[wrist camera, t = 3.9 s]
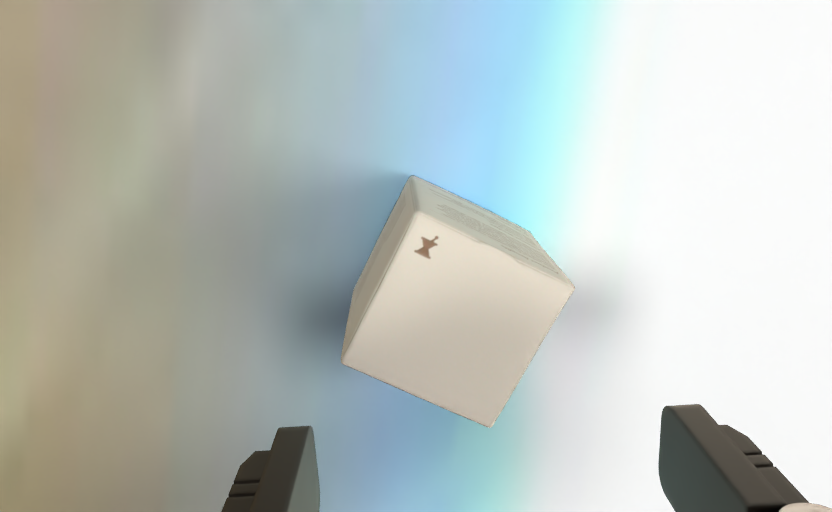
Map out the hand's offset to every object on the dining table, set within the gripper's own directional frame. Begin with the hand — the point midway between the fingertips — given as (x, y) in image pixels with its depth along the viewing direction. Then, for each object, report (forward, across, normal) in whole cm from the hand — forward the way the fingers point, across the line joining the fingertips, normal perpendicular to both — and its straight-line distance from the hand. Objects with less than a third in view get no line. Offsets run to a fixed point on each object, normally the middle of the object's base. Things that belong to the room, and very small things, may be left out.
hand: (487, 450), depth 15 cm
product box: (+15, 0, 0) cm, 15 cm away
